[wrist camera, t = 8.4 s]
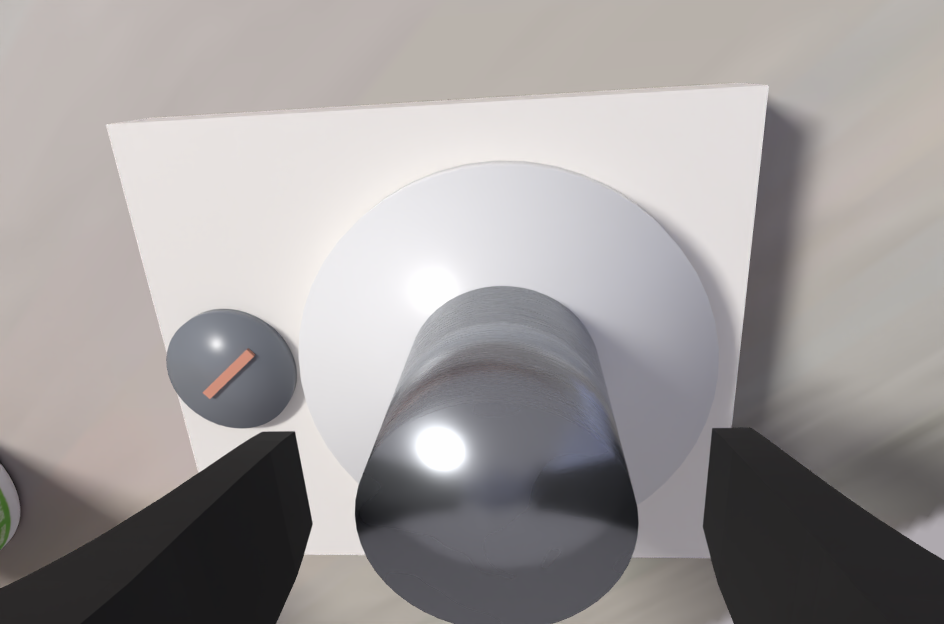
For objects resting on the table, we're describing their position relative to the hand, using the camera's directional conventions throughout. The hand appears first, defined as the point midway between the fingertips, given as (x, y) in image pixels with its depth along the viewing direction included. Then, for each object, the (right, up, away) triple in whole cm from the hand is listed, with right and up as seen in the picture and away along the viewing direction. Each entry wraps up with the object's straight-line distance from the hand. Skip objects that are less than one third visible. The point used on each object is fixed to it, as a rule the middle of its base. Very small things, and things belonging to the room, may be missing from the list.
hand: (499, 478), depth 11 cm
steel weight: (0, +1, +4) cm, 4 cm away
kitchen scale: (-1, +2, +6) cm, 7 cm away
